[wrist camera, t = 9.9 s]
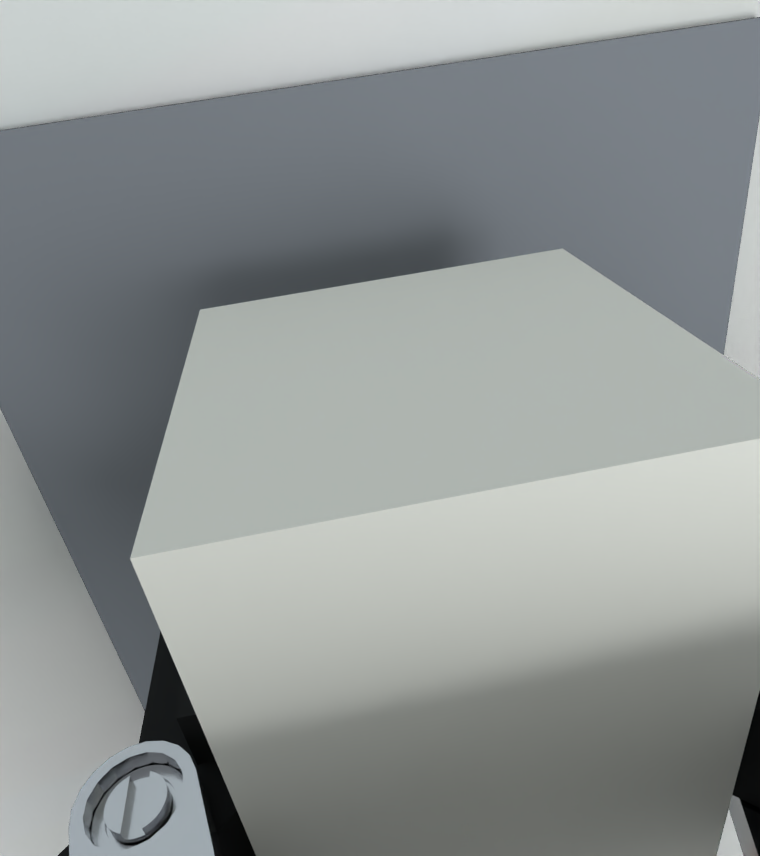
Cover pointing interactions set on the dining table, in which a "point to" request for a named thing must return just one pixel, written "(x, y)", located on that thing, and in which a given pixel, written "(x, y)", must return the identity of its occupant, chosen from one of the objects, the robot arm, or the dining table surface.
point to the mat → (340, 234)
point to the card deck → (463, 565)
